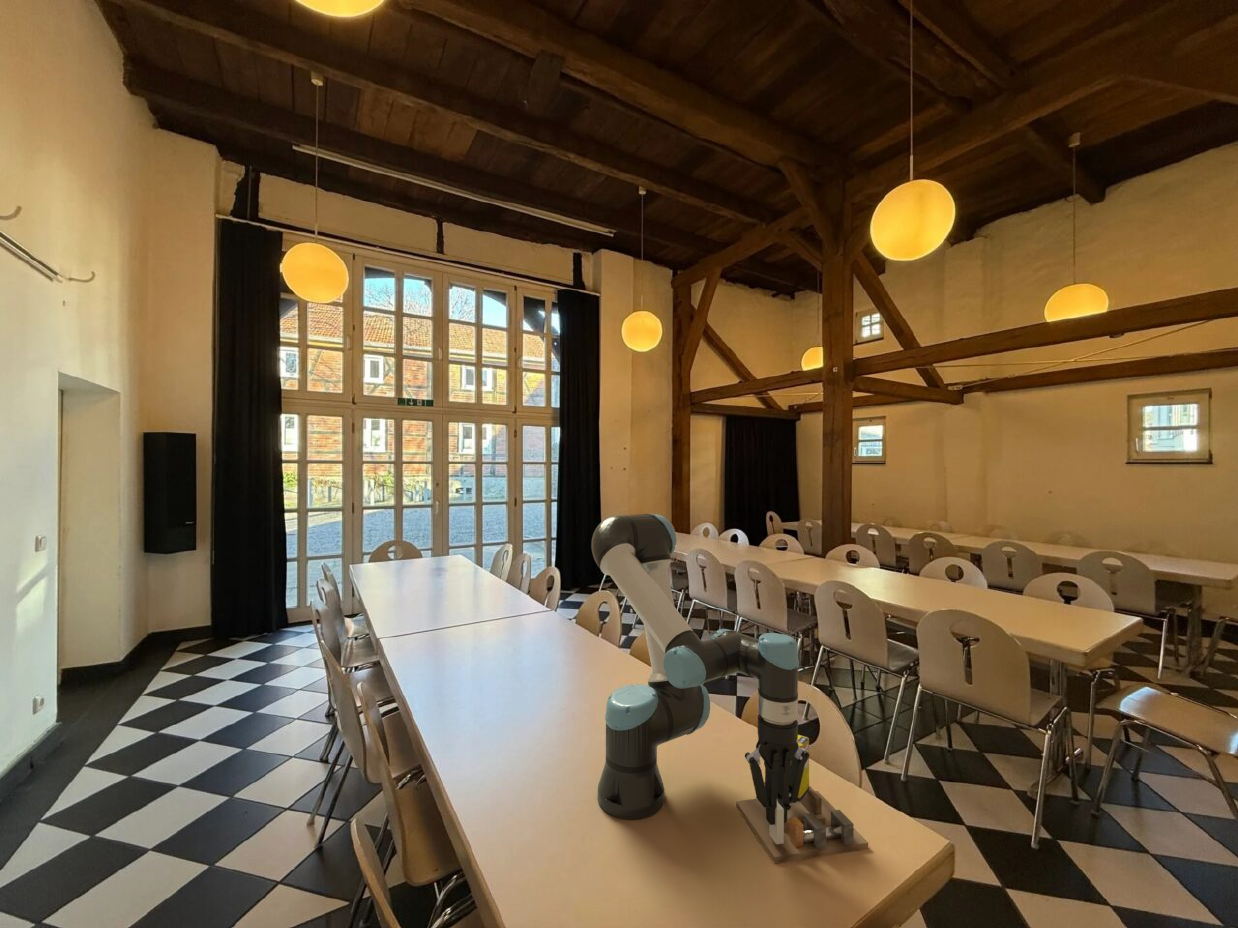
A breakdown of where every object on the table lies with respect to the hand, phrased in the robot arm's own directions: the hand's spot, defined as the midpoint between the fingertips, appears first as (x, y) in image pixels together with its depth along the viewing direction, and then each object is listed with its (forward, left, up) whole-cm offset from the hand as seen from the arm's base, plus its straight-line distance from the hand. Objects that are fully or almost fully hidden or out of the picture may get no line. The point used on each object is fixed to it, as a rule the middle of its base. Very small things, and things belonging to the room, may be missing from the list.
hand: (776, 838), depth 100 cm
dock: (+8, +5, -2) cm, 10 cm away
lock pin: (+9, -1, -1) cm, 9 cm away
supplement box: (+8, +8, +3) cm, 12 cm away
